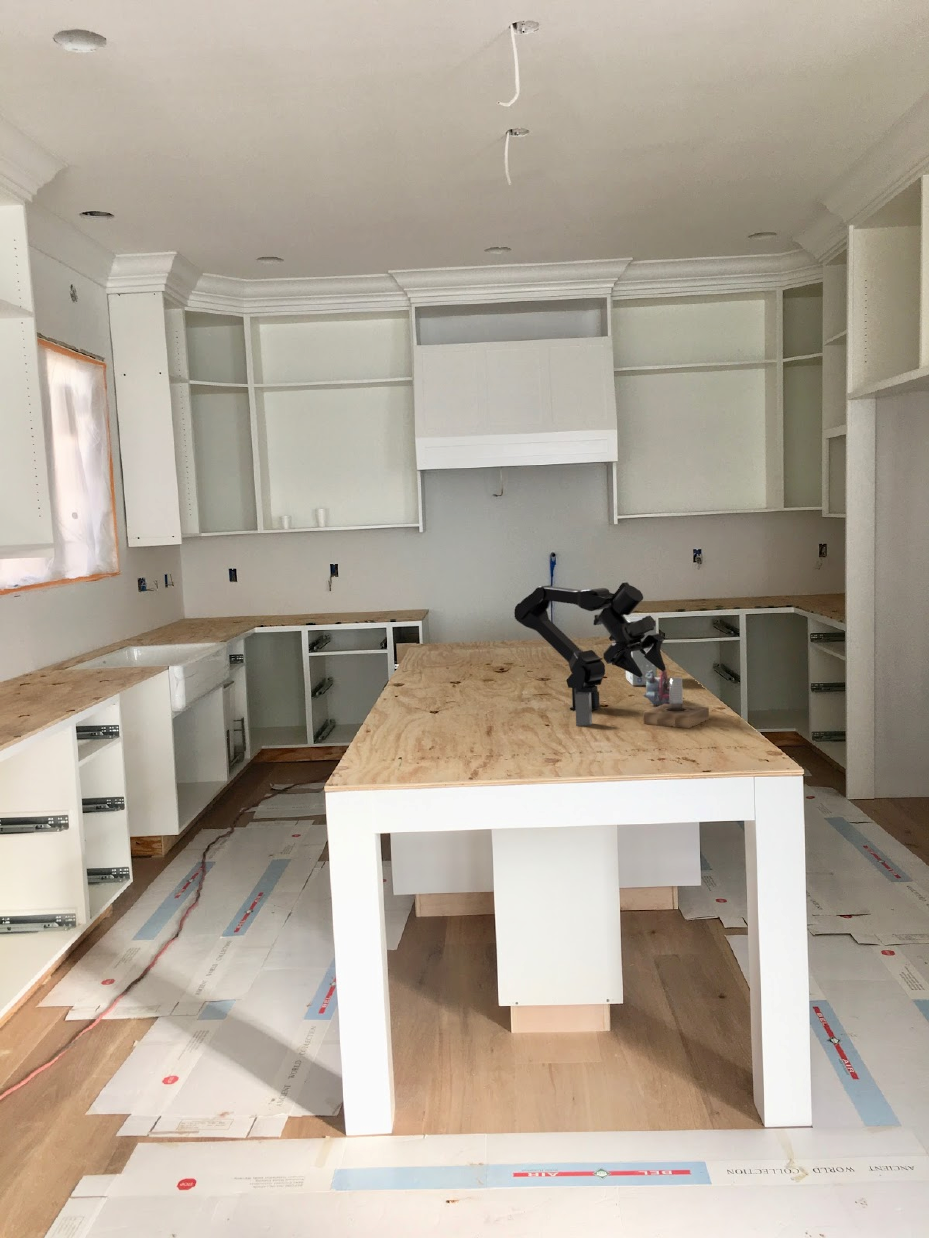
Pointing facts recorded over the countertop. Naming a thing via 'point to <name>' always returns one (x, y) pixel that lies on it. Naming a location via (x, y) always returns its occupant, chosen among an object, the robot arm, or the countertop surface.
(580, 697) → the square bit
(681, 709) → the round bit
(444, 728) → the countertop surface
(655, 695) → the brake caliper
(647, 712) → the bore block
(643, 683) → the hard drive box
